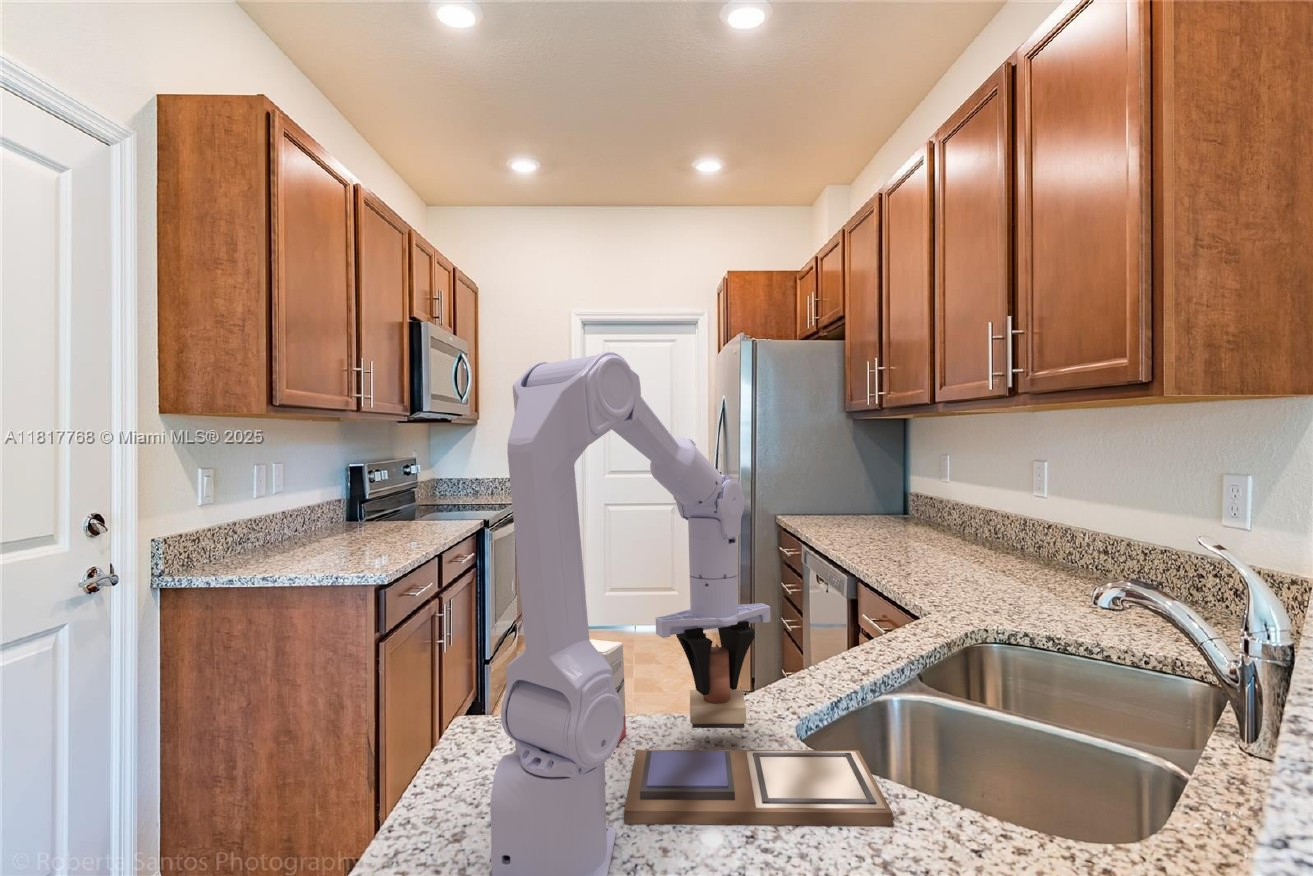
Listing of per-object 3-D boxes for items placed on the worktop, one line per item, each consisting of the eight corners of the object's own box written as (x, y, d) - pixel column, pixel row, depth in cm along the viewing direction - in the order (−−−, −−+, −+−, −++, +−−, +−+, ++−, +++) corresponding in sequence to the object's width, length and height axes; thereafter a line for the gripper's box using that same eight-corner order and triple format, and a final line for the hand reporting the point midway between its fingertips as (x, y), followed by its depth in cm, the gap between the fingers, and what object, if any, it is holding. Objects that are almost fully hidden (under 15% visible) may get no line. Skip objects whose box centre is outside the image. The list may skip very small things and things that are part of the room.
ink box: (627, 735, 77) (625, 640, 77) (608, 753, 72) (606, 652, 73) (569, 725, 80) (567, 634, 81) (547, 742, 76) (545, 645, 76)
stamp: (690, 729, 71) (688, 658, 71) (690, 709, 76) (688, 644, 76) (746, 728, 70) (744, 658, 71) (742, 709, 76) (740, 643, 76)
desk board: (624, 823, 58) (623, 799, 59) (636, 760, 70) (635, 740, 70) (893, 826, 57) (892, 801, 57) (858, 761, 69) (858, 740, 69)
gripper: (671, 587, 67) (675, 713, 67) (783, 574, 73) (787, 690, 73) (647, 576, 74) (650, 691, 73) (752, 565, 80) (755, 671, 79)
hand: (716, 689), depth 73 cm, fingers closed on stamp, 3 cm apart
